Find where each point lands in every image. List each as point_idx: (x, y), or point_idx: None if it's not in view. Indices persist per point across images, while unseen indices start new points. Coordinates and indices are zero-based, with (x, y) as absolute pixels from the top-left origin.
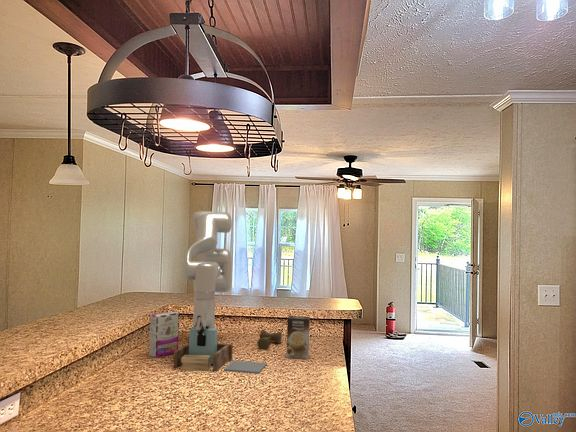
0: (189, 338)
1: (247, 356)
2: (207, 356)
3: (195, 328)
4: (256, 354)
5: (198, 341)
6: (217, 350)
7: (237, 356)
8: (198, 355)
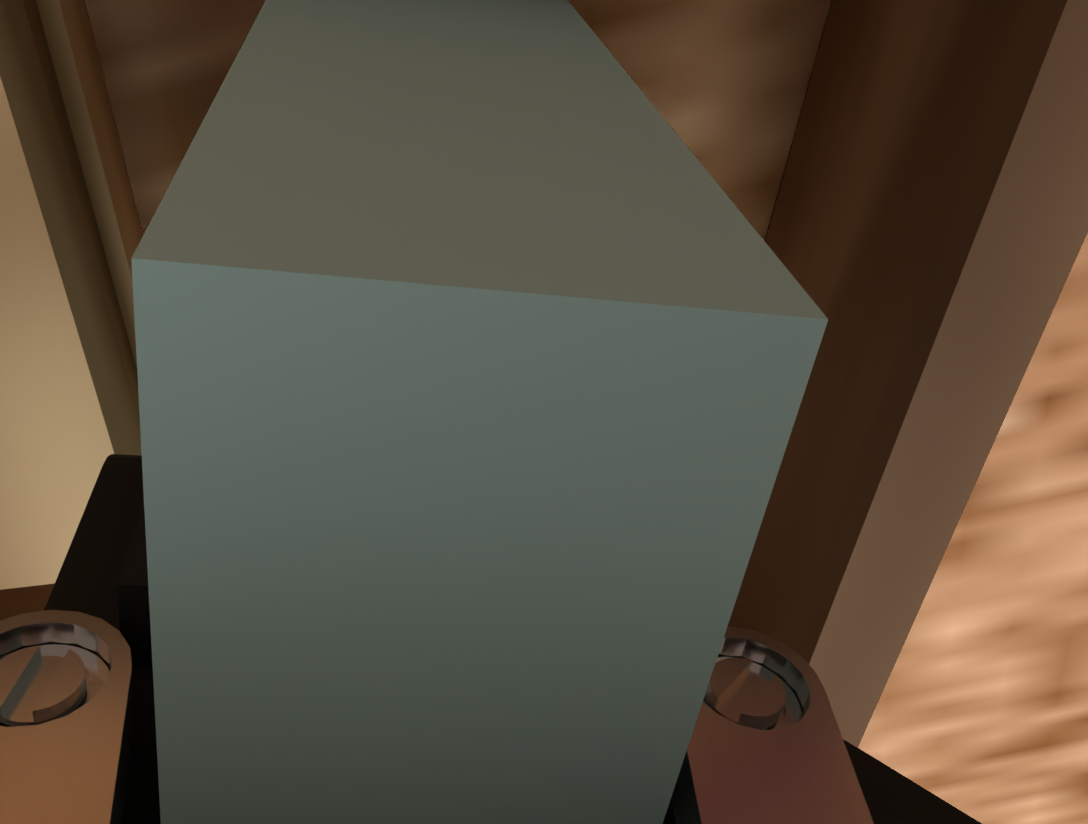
0: (233, 63)
1: (920, 750)
2: (36, 543)
3: (430, 603)
4: (1017, 813)
5: (97, 487)
6: (770, 533)
7: (931, 644)
8: (39, 327)
